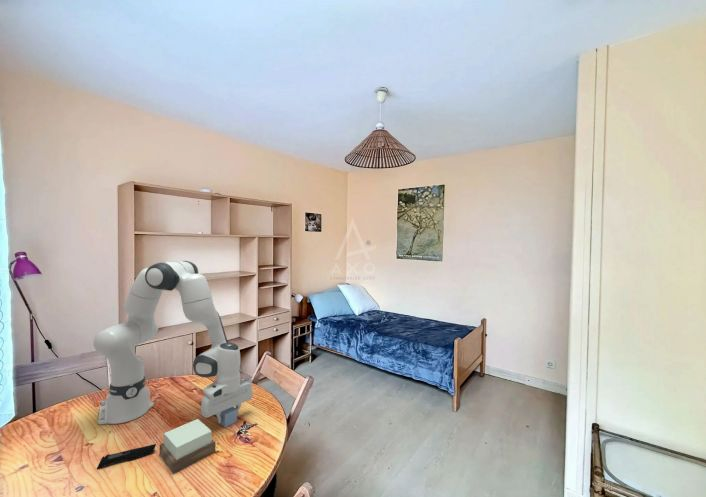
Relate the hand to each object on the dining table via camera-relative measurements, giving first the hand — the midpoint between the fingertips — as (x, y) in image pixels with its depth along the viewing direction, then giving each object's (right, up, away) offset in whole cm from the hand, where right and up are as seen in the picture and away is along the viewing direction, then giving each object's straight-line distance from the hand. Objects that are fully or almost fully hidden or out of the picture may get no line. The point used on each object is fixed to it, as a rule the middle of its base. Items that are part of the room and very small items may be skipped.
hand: (228, 418), depth 118 cm
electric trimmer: (-25, -2, -21) cm, 32 cm away
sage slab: (-6, +2, -18) cm, 19 cm away
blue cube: (0, -2, 0) cm, 2 cm away
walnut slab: (-6, -2, -18) cm, 19 cm away
